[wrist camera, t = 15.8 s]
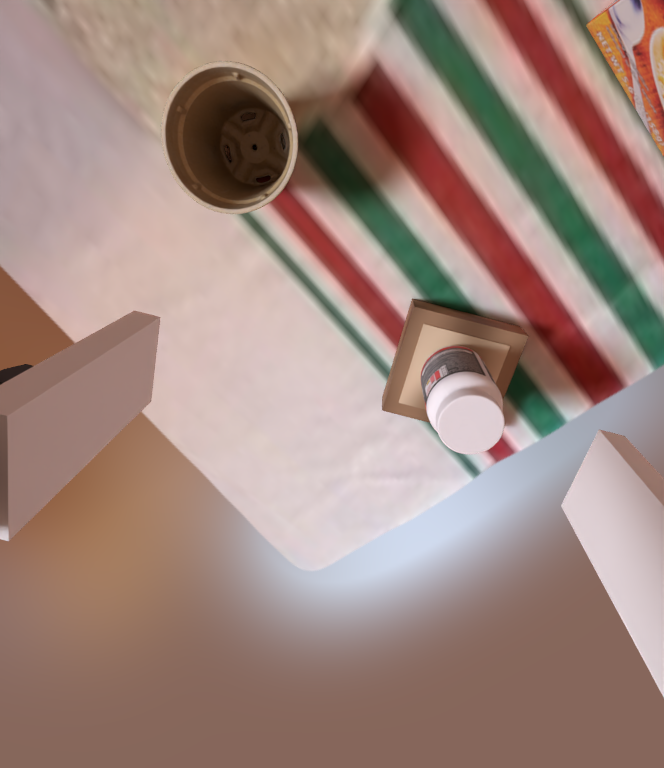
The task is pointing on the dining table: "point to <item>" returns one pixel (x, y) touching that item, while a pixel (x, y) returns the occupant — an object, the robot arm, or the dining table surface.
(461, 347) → the pill bottle
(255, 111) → the flower pot
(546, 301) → the dining table surface
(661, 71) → the pasta box
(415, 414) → the base block
